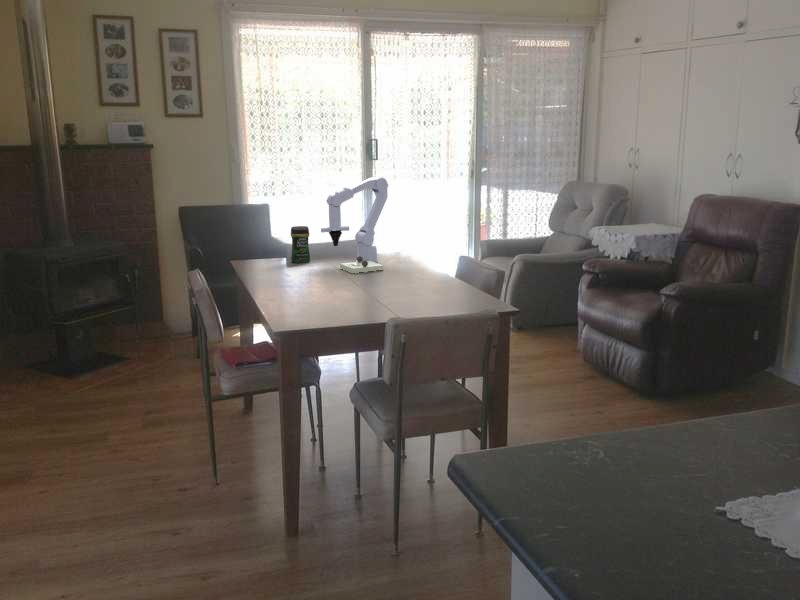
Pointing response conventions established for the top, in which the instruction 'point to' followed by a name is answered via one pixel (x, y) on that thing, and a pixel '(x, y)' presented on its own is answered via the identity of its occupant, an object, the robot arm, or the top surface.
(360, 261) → the black rubber ball
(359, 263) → the sage board
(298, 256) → the coffee jar
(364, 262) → the black rubber ball
